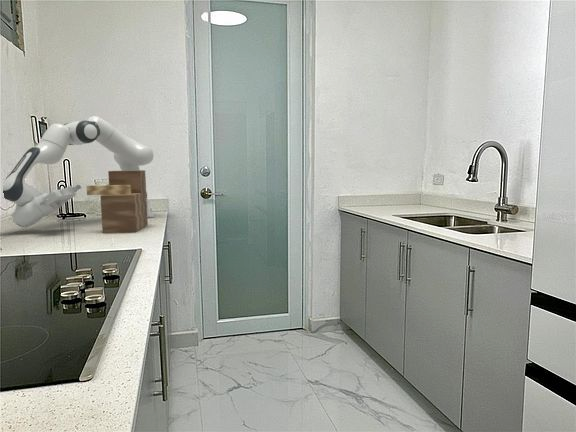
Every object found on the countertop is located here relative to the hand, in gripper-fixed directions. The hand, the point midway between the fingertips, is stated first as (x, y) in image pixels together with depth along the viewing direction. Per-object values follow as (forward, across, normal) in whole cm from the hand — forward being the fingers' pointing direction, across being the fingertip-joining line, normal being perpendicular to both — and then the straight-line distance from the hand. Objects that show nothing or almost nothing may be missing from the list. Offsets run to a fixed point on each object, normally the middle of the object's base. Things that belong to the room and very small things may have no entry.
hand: (76, 186), depth 205 cm
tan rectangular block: (+10, 0, +10) cm, 14 cm away
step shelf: (+6, +6, +26) cm, 28 cm away
